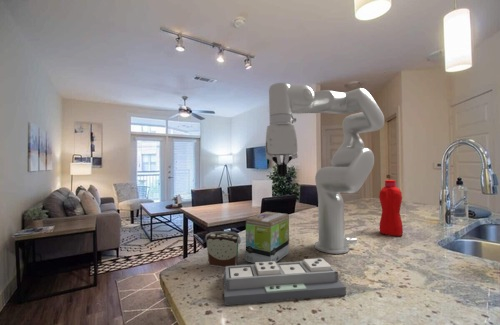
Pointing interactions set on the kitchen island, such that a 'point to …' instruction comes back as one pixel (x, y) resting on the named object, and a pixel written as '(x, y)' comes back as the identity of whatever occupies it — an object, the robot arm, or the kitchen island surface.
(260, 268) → the key four dots
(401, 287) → the kitchen island surface
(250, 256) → the tea box
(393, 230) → the red plastic bottle
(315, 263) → the key three dots
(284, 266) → the key one dot
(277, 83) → the robot arm
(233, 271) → the key two dots
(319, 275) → the keypad
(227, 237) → the food container
